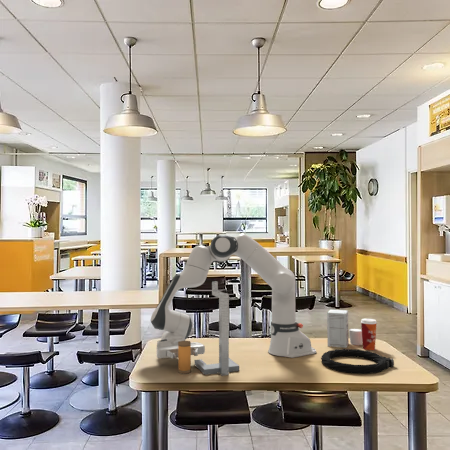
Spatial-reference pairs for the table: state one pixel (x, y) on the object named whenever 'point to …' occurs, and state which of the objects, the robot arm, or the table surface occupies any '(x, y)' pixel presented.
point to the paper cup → (368, 333)
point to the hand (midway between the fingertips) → (185, 355)
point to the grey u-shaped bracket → (214, 367)
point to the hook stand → (223, 329)
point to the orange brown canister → (184, 357)
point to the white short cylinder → (355, 336)
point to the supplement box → (337, 328)
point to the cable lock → (359, 369)
